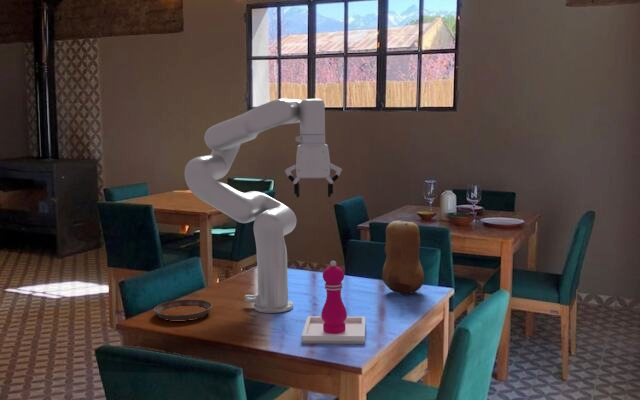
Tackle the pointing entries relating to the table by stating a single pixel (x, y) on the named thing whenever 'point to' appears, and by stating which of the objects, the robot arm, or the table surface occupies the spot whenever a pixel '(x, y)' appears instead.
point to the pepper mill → (333, 300)
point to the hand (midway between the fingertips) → (313, 196)
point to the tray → (351, 335)
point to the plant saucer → (185, 302)
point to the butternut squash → (402, 258)
